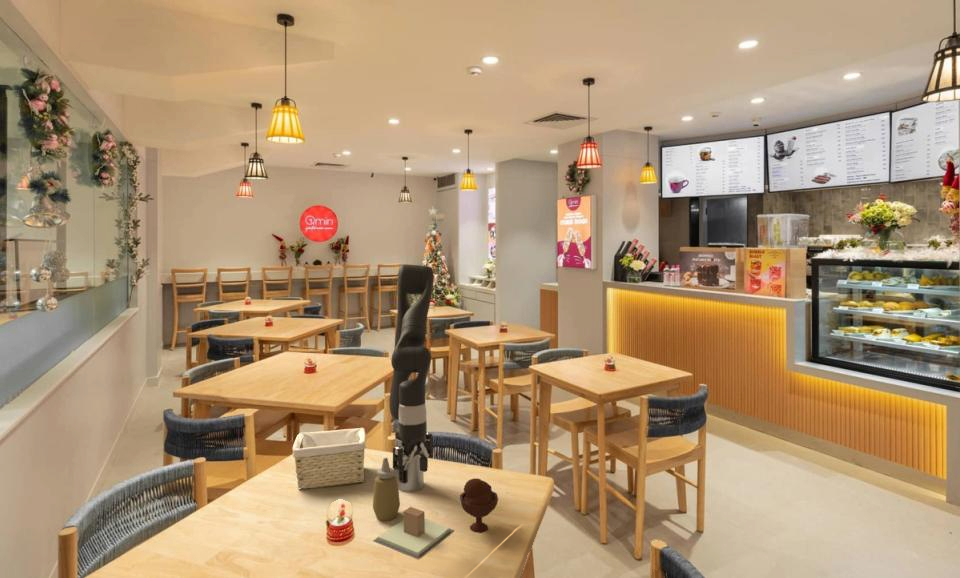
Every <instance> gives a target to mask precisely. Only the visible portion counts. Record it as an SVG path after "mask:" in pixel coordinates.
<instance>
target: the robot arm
mask: <svg viewBox="0 0 960 578" xmlns="http://www.w3.org/2000/svg"><path fill="white" fill-rule="evenodd" d="M434 281H435V280H434V270H433V268H432V267H431V266H428V265H418V264H408V263H407V264H401V265H400V267H399V269H398V273H397V315H396V327H395V328H396V329H395V337H394V350H393V351H392V354H391V358H390V362H391V367H392V369H393V373H392V379H391V380H392V381H391V386H390V392H389V393H390V394H389V400H388V401H389V402H388V403H389V406H388V407H389V412H390V414H391V417H392V418H393V419H395V420H398V426H397V427H396V428H395V431H394V441H395V442H394V444H395V446H393V448H392V469H393V470H394V475H395V476H396V477H397V484H398V491H400V492H407V493H411V492H417V491H419V490H421V489H423V487H424V484H425V482H424V478H425V477H424V475H425V474H424V473H425V472H427V471H428V468H429V465H428V463H429V462H428V458H429V456H430V455H431V454H433V452H434V446H433V434H432V433H431V432H428V431H427V427H428V424H427V422H428V421H427V419H428V418H427V407H426V384H427V378H428V374H429V370H430V366H431V363H432V354H431V352H430V350H429V348H428V347H427V346H425V342H426V338H427V321H428V320H427V319H428V315H429V311H430V305H431V300H432V295H433V289H434ZM408 295H417V296H419V295H420V296H419V298H418V299H417V300H416V302H414V303H413V304H412V305H411V304H410V301H409V297H408ZM413 373H416V374H417V373H418V374H417V376H416V377H414V378H411V379H410V377H411V375H412V374H413Z"/></svg>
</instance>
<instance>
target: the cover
mask: <svg viewBox="0 0 960 578" xmlns="http://www.w3.org/2000/svg"><path fill="white" fill-rule="evenodd" d="M450 529H451V528H450V527H449V526H445V525H443V524H440V523H437V522H434V521H431V520H429V519H426V518H425V511H424V510H421V509H418V508H415V507H412V506H410V507H408V508H407V509H405V510H403V519H402V520H400V522H398V523H396V524H395V525H393V526H392V527H390V528H389V529H387V530H386V531H384V532H383V533H381V534H380V535H378V536H377V538H378V540H379V541H381V542H384V543H386V544H389V545H391V546H394V547H396V548H399V549H401V550H404V551H406V552H409V553H411V554H413V555H416V556H419V555H420V554H421V553H423V552H424V551H425V550H426V549H428V548H429V547H430V546H432V545H433V544H434V543H435V542H437V541H438V540H439V539H440V538H442V537H443V536H444V535H446V534H447V533H448V532H449V531H450Z"/></svg>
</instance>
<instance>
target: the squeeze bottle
mask: <svg viewBox="0 0 960 578" xmlns="http://www.w3.org/2000/svg"><path fill="white" fill-rule="evenodd" d="M399 493H400V492H399V490H398V484H397V477H396V476H395V475H394V469H393V467H390V463H389V460H388V457H384V458H383V459H382V465H381V468H378V470H377V476H376V477H375V478H374V486H373V495H372V497H373V498H372V510H373V512H374V514H375V515H374V516H375V517H376V519H377V520H379V521H381V522H389V521H392V520H394V519H395V518H396V517H397V516H398V513H399V509H400V507H401V503H400V502H401V501H400V494H399Z"/></svg>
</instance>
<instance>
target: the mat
mask: <svg viewBox="0 0 960 578" xmlns="http://www.w3.org/2000/svg"><path fill="white" fill-rule="evenodd" d="M454 532H455V530H454V529H451V528H450V531H449V532H448V533H447V534H446V535H444V536H443V537H442V538H440V539H439V540H438V541H437V542H435V543H434V544H433V545H432V546H430V547H429V548H428V549H426V550H425V551H424V552H423V553H421V554H420V555H419V556H416V555H413V554H411V553H409V552H406V551H404V550H401V549H399V548H396V547H394V546H391V545H389V544H386V543H384V542H381V541H379V540H378V537H376V538H375V539H374V540H372V542H374V543H377V544H379V545H382V546H384V547H387V548H389V549H391V550H394V551H397V552H398V553H401V554H404V555H406V556H409V557H411V558H413V559H416V560H418V561H419V560H420V559H422V557H424V556H425V555H426V554H428V553H429V552H430V551H431V550H433V549H434V548H435V547H436V546H437V545H439V544H440V543H442V542H443V541H444V540H445V539H446V538H447V537H449V536H450V535H451V534H453V533H454Z"/></svg>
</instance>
